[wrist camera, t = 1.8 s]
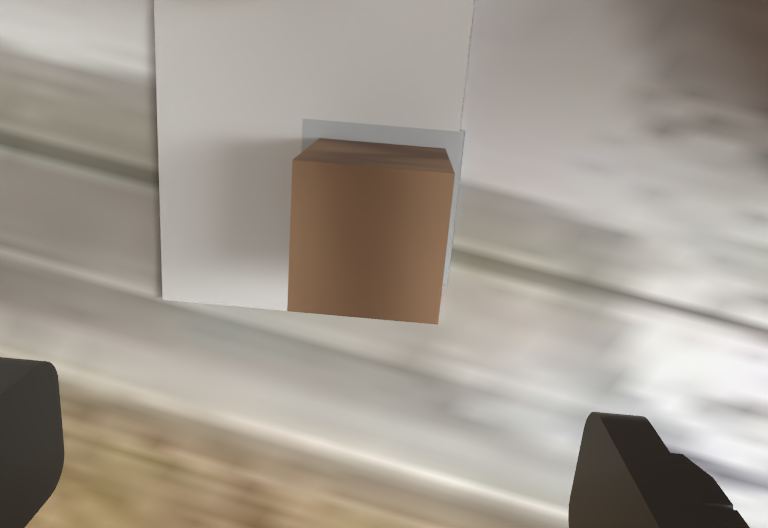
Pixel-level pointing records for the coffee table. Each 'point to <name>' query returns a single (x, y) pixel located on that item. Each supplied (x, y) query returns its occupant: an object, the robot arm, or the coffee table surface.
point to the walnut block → (369, 230)
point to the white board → (286, 121)
